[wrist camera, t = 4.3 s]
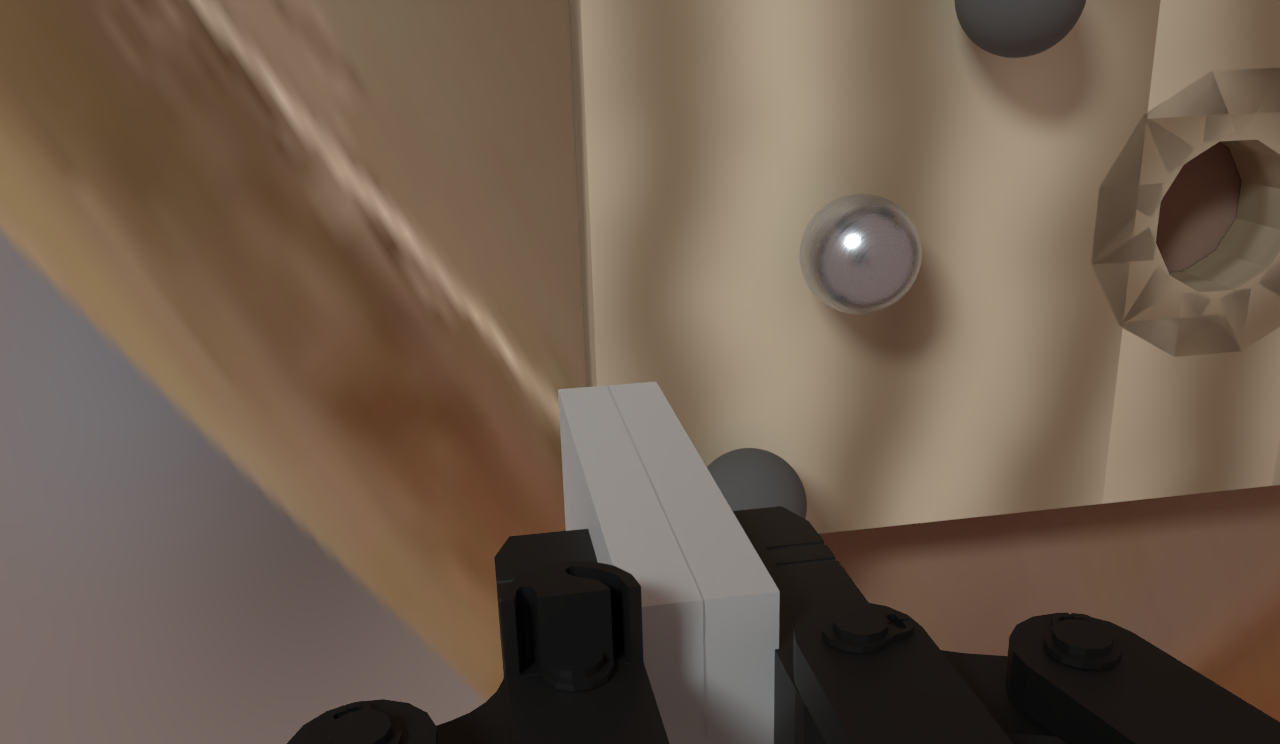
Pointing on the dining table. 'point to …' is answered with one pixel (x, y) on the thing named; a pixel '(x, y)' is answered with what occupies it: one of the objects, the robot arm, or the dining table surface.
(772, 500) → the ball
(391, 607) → the dining table surface
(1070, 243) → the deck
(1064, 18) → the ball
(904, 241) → the steel ball
